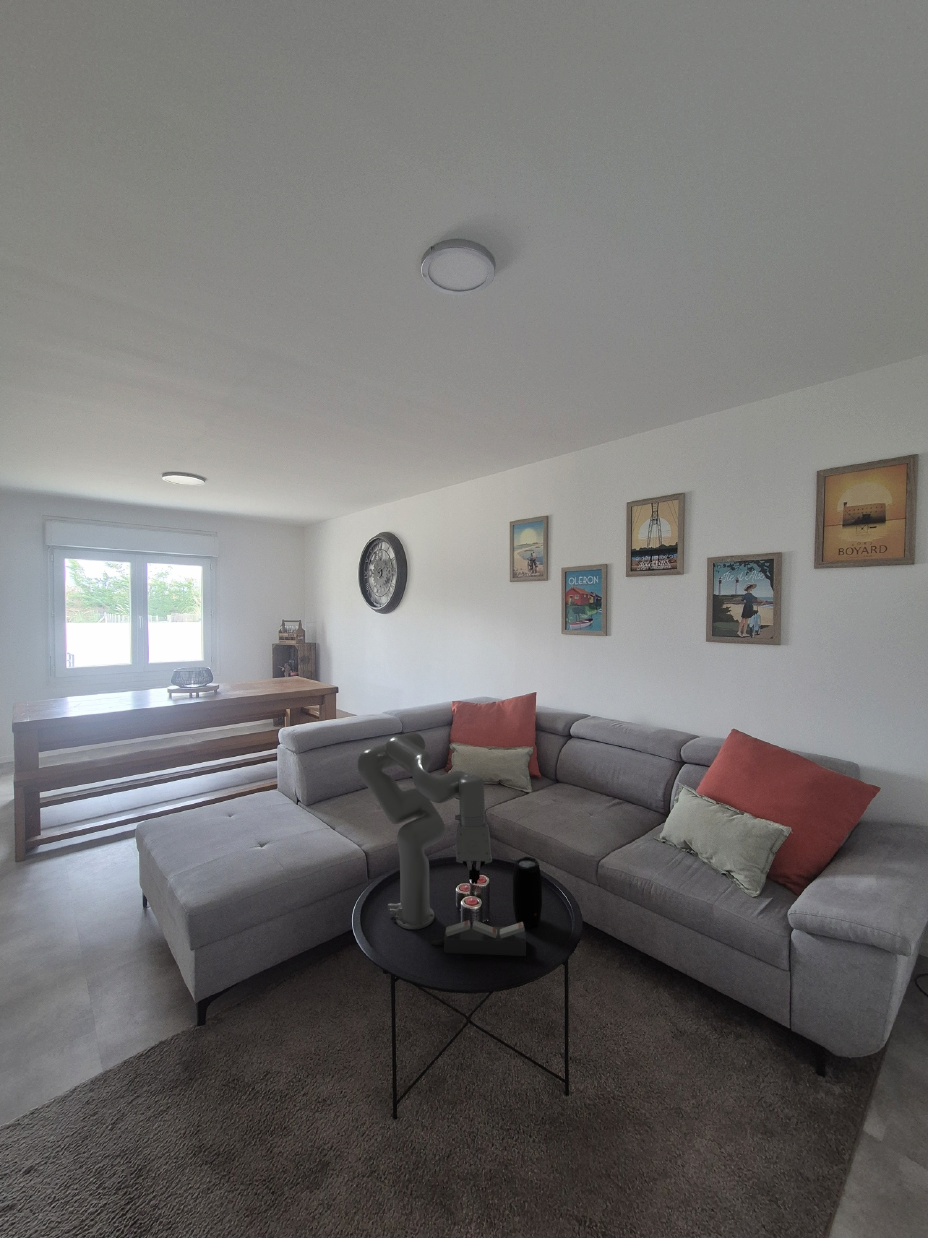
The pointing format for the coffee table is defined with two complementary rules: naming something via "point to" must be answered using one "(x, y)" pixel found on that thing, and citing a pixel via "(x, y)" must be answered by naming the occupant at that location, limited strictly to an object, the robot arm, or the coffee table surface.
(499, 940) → the rocker switch box
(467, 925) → the rocker
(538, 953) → the coffee table surface
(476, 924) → the rocker
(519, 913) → the portable speaker
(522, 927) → the rocker
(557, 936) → the coffee table surface
